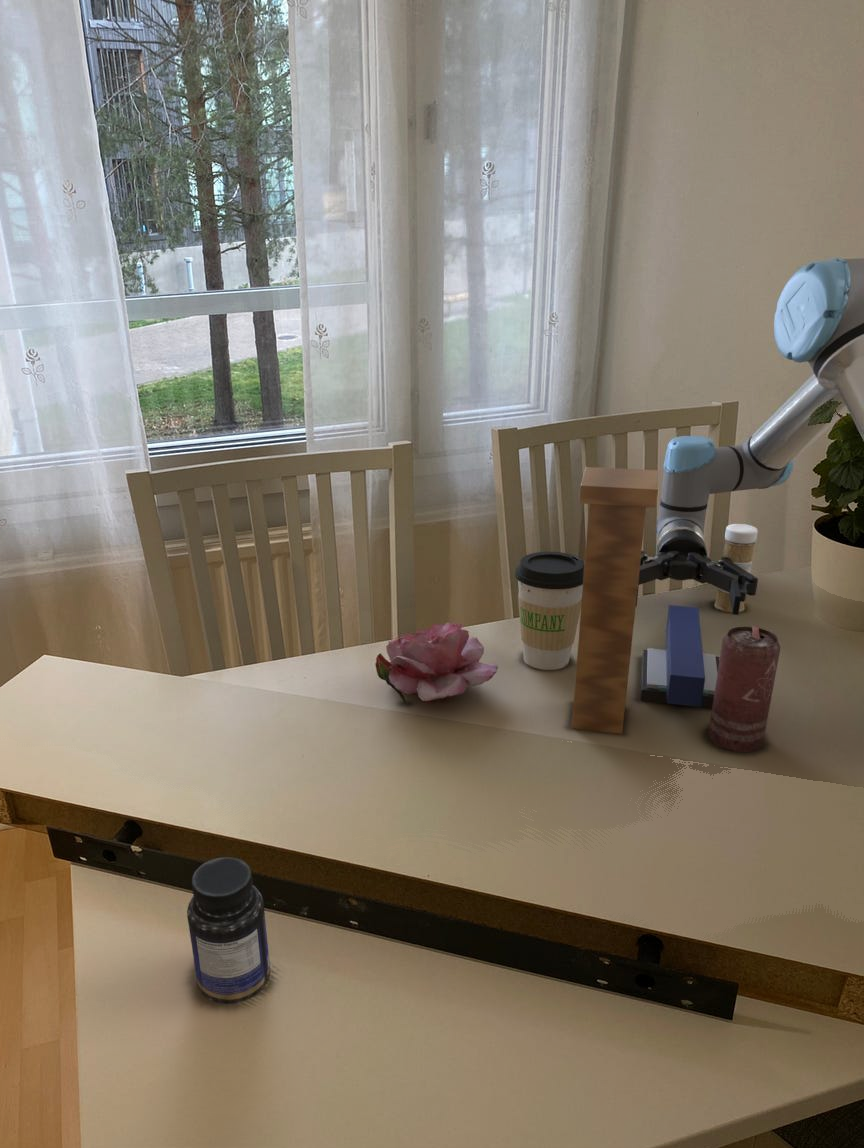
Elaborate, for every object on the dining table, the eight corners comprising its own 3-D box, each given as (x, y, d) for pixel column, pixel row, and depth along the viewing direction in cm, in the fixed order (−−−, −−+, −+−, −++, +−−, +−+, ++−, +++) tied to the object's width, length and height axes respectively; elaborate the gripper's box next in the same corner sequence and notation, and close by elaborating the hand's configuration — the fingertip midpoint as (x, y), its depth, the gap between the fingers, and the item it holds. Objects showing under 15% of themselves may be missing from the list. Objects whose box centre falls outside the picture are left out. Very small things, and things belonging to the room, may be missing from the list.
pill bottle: (215, 947, 80) (202, 845, 75) (281, 958, 78) (271, 855, 74) (185, 1001, 74) (168, 895, 70) (255, 1014, 73) (243, 907, 68)
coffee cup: (498, 654, 131) (502, 555, 125) (558, 642, 134) (565, 546, 128) (532, 683, 123) (538, 580, 116) (595, 670, 126) (604, 569, 119)
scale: (716, 669, 125) (719, 652, 124) (722, 712, 115) (725, 693, 114) (641, 662, 128) (643, 645, 127) (640, 703, 117) (642, 685, 116)
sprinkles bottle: (711, 603, 146) (723, 522, 140) (740, 604, 145) (753, 523, 140) (717, 614, 142) (730, 531, 136) (748, 615, 141) (762, 532, 136)
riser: (631, 709, 116) (658, 470, 102) (630, 742, 109) (658, 489, 96) (568, 702, 118) (585, 466, 104) (562, 734, 111) (580, 485, 98)
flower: (522, 675, 119) (501, 605, 116) (446, 730, 110) (422, 656, 107) (443, 668, 130) (422, 605, 127) (370, 717, 122) (346, 651, 119)
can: (759, 731, 110) (778, 626, 104) (764, 758, 105) (784, 649, 99) (706, 725, 112) (722, 621, 106) (708, 752, 106) (725, 644, 100)
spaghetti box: (694, 633, 130) (698, 607, 128) (701, 707, 111) (705, 678, 109) (665, 630, 131) (668, 604, 129) (666, 703, 112) (670, 674, 110)
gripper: (760, 578, 144) (776, 634, 125) (599, 567, 150) (591, 618, 131) (768, 533, 141) (785, 583, 122) (603, 523, 147) (595, 569, 128)
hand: (685, 601), depth 127 cm, fingers open, 13 cm apart
